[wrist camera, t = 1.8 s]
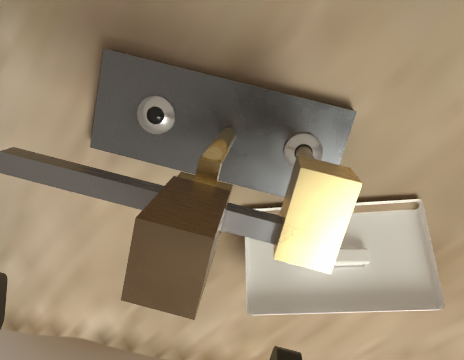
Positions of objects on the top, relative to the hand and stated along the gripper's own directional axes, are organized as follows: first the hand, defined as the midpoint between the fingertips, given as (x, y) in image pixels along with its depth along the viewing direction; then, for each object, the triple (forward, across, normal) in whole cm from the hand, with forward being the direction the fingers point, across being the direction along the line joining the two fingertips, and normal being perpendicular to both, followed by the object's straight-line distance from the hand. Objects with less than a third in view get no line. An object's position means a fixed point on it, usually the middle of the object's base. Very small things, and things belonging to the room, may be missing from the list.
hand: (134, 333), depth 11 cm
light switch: (+23, -11, +5) cm, 26 cm away
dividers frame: (+21, +2, -1) cm, 21 cm away
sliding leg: (+21, 0, -1) cm, 21 cm away
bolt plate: (+23, +1, -2) cm, 23 cm away
